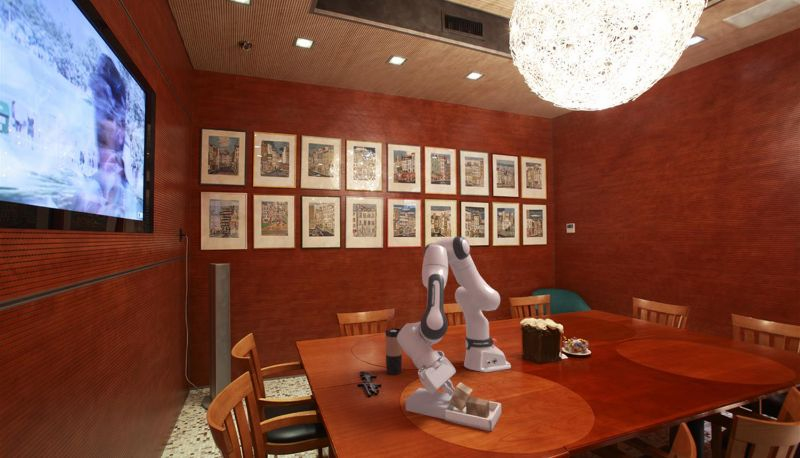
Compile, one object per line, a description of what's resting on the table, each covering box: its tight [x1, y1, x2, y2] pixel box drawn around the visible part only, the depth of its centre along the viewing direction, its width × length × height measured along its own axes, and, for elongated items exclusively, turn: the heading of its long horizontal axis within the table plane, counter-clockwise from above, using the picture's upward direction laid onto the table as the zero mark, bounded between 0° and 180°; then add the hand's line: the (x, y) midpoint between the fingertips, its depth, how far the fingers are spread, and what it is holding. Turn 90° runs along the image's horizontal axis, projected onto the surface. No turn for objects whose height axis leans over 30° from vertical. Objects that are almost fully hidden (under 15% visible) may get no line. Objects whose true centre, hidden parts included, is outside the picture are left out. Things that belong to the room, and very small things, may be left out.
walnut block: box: [466, 396, 490, 418], centre depth 130 cm, size 5×4×7 cm
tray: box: [444, 400, 503, 432], centre depth 131 cm, size 16×14×4 cm
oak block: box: [449, 381, 473, 412], centre depth 133 cm, size 5×4×7 cm
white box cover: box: [405, 387, 455, 420], centre depth 138 cm, size 16×12×4 cm
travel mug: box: [385, 327, 403, 376], centre depth 177 cm, size 8×8×20 cm
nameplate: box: [357, 370, 382, 398], centre depth 162 cm, size 27×2×10 cm
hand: (453, 393), depth 134 cm, fingers closed, pressing on oak block
